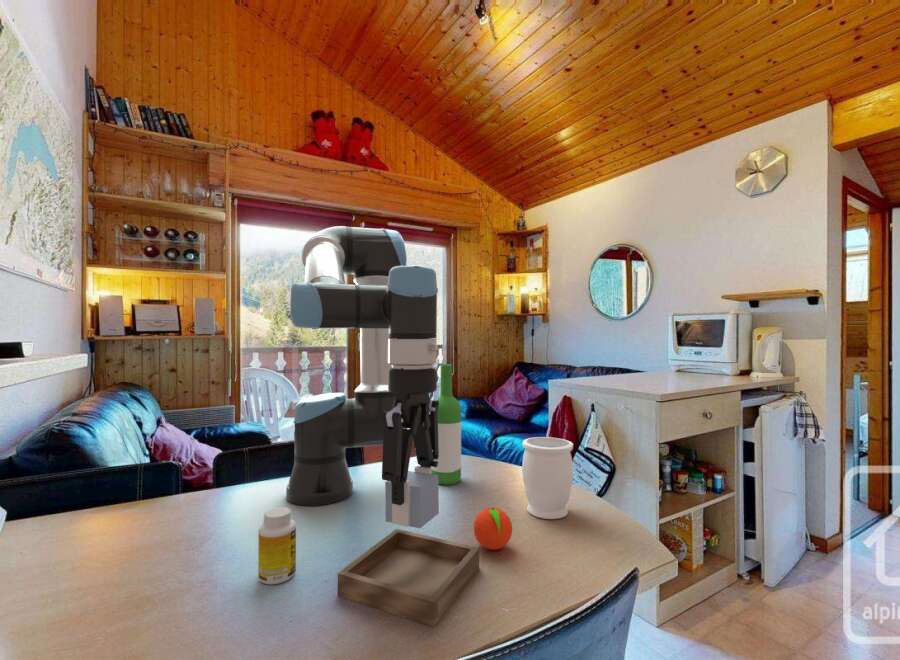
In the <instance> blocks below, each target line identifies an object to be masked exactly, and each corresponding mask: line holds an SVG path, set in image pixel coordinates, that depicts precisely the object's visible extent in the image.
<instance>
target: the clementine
mask: <svg viewBox="0 0 900 660" xmlns="http://www.w3.org/2000/svg"><path fill="white" fill-rule="evenodd" d="M473 532H474V536H475V539H476V541H477V542H478V544H480V546H482V547H484V548H486V549H487V550H492V551H497V550H500V549H502V548H504V547H506V545H507V544H509V542H510V540H511V538H512V534H513V524H512V521H511V519H510V517H509V516H508V514H507V513H506V512H505V511H503V510H502V509H500V508H498V507H487V508H484V509H483V510H481V511H480V512H479V513H478V514H477V515H476V518H475V519H474V522H473Z"/></svg>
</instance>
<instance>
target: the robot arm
mask: <svg viewBox="0 0 900 660" xmlns="http://www.w3.org/2000/svg"><path fill="white" fill-rule="evenodd" d="M301 260H302V264H303V265H304V268H305V272H304V273H305V274H304V282H298V283H297V282H296V283H294V284H292V286H291V288H290V303H289V305H290V322H291V324H292V326H294V327H295V328H299V329H312V330H319V329H322V330H323V329H359V330H360V331H359V332H360V333H359V336H360V340H359V342H360V343H359V344H360V345H359V346H360V349H359V350H360V351H359V353H360V354H359V355H360V359H359V360H360V382H359V383H360V384H359V385H358V386H357V387H356V388H355V390H354V393H353V394H354V398H347V396H346V393H344V392H328V393H327V392H326V393H321V394H317V395H311V396H308V397H305V398H302V399H301V400H298V402H297V403H296V404H295V407H294V419H293V424H294V450H293V451H294V452H293V453H294V455H293V456H294V457H293V458H294V463H293V467H292V469H291V473H290V476H289V481H288V483H287V484H286V494H285V495H286V497H285V498H286V500H287V501H288V502H289V503H291V504H294V505H297V506H305V507H306V506H309V507H310V506H312V507H313V506H314V507H315V506H325V505H330V504H334V503H337V502H341V501H342V500H345V499H347V498H349V497H350V496H351V495H352V494H353V493H354V492H353V491H354V485H353V484H354V481H353V479H352V476H351V474H350V470H349V467H348V466H349V465H348V463H347V460H346V449H348V448H349V449H350V448H351V449H352V448H363V447H373V446H375V447H376V446H382V463H381V464H382V465H381V479H382V481H385V482H386V481H391V483H392V523H391V524H392V525H397V526H403V527H407V528H408V527H410V526H409V525H410V481H409V480H407V475H408V471H409V467H410V460H411V453H412V447H413V444H414V450H415V456H416V461H417V465H416V466H415V467H414V472H418V473H425V474H431V467H437V465H438V461H434V459H435V460H437V459H438V457H439V446H438V407H439V401H438V400H436V399H431V398H430V394H431V393H434V392H436V391H437V388H438V384H437V383H438V377H437V376H438V370H437V369H436V367H433V365H436V363H437V352H438V350H439V346H438V345H437V333H438V332H437V330H438V329H437V325H438V324H437V323H438V322H437V321H438V320H437V315H438V314H437V313H438V311H437V310H438V307H437V306H438V292H439V288H438V283H437V273H436V270H435V269H434V268H432V267H430V266H425V265H415V264H414V265H411V264H410V265H409V264H408V265H407V249H406V245H405V241H404V238H403V237H402V234H401V233H400V232H399V231H397V230H393V229H386V228H383V227H382V228H372V227H371V228H370V227H358V226H356V227H355V226H353V227H352V226H344V225H340V226H339V225H338V226H337V225H336V226H331V227H327V228H324V229H322V230H319V231H318V232H316V233H314V234H313V235H310V237H309V238H308V239H307V240H306V241H305V243H304V244H303V247H302V250H301ZM344 274H345V275H353V283H355V284H349V283H346V280H345V275H344ZM432 450H433V452H432Z"/></svg>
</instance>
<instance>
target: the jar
mask: <svg viewBox="0 0 900 660" xmlns="http://www.w3.org/2000/svg"><path fill="white" fill-rule="evenodd" d="M522 447H523V448H524V453H523V456H522V466H521V469H522V470H521V471H522V481H523V485H524V487H523V488H524V492H525V497H526V499H527V501H528V505H527V507H526V510H527V512H528V513H529V514H530V515H531V516H534V517H536V518H539V519H545V520H559V519H563V518H565V517H566V516H567V515H568V513H569V511H568V508H567V504H568V502H569V499H570V496H571V491H572V485H573V478H574V466H573V465H574V464H573V458H572V454H571V451H573V449H574V443H573V442H572V441H569V440H567V439H563V438H558V437H550V436H535V437H529V438H526V439H523V440H522Z"/></svg>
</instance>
